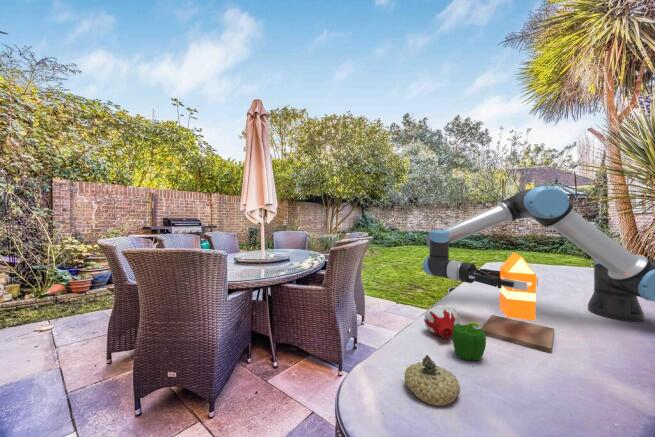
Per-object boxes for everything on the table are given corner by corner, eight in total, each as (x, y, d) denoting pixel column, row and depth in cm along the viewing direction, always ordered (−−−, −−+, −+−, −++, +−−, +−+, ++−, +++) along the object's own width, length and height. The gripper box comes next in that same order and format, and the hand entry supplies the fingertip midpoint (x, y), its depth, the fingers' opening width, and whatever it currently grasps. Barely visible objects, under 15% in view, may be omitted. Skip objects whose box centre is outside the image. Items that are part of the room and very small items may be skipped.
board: (554, 333, 88) (554, 328, 88) (551, 353, 74) (551, 348, 74) (491, 318, 100) (491, 314, 100) (479, 334, 87) (480, 329, 87)
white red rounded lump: (454, 324, 93) (467, 351, 78) (420, 321, 95) (427, 347, 81) (455, 300, 92) (469, 323, 77) (421, 298, 94) (429, 319, 79)
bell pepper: (444, 352, 75) (444, 317, 75) (464, 346, 78) (464, 313, 78) (471, 368, 67) (471, 329, 67) (492, 360, 71) (492, 324, 71)
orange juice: (525, 311, 90) (526, 253, 90) (535, 320, 82) (537, 257, 81) (498, 308, 93) (499, 251, 92) (506, 317, 84) (507, 255, 84)
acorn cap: (398, 374, 65) (398, 362, 58) (437, 357, 66) (442, 343, 59) (420, 421, 58) (423, 413, 51) (463, 401, 59) (472, 390, 52)
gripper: (475, 277, 108) (542, 289, 91) (446, 285, 95) (519, 302, 77) (475, 259, 108) (543, 268, 90) (447, 265, 95) (520, 277, 77)
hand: (532, 283), depth 84 cm, fingers closed on orange juice, 10 cm apart
